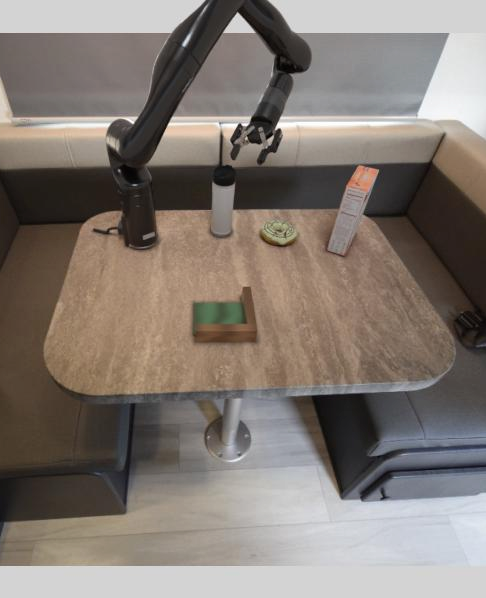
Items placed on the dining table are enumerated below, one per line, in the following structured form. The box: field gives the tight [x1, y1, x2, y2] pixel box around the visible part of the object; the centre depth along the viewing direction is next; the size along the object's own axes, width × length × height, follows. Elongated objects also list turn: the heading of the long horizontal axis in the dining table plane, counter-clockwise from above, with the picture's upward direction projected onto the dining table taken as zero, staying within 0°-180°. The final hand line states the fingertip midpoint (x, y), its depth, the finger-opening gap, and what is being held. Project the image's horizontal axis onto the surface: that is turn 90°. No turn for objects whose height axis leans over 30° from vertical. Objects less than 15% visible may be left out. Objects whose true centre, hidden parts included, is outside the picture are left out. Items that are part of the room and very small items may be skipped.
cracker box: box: [325, 165, 380, 257], centre depth 99 cm, size 14×6×21 cm, turn 150°
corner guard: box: [192, 286, 258, 343], centre depth 82 cm, size 14×14×4 cm
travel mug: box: [210, 164, 237, 238], centre depth 102 cm, size 6×7×20 cm
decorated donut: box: [260, 219, 298, 247], centre depth 106 cm, size 10×11×4 cm
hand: (245, 161), depth 98 cm, fingers open, 8 cm apart
